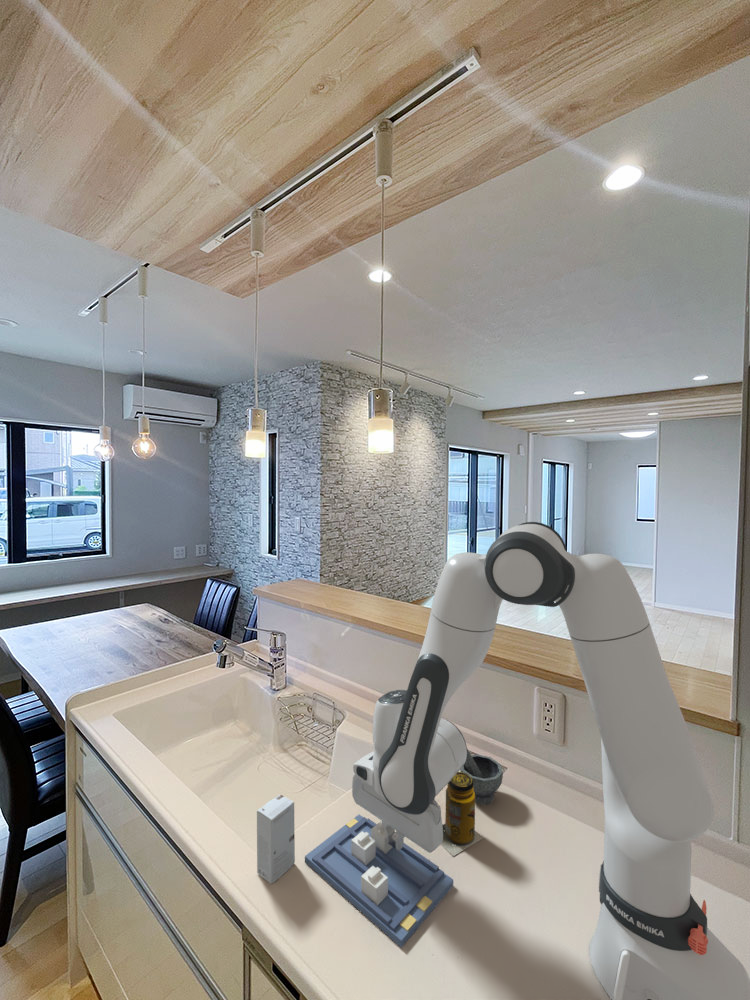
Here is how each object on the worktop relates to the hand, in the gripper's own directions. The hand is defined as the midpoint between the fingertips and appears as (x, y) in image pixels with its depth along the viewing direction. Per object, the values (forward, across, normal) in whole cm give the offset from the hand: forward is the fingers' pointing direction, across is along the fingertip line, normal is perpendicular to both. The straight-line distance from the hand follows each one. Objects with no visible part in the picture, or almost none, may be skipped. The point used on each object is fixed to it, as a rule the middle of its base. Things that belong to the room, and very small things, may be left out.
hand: (394, 845), depth 88 cm
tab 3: (+2, -3, +9) cm, 10 cm away
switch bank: (+3, +1, +4) cm, 5 cm away
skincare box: (+4, +16, +16) cm, 23 cm away
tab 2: (+2, +4, +4) cm, 6 cm away
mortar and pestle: (+3, -2, -28) cm, 28 cm away
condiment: (+4, -5, -14) cm, 15 cm away
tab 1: (+2, +3, 0) cm, 4 cm away
